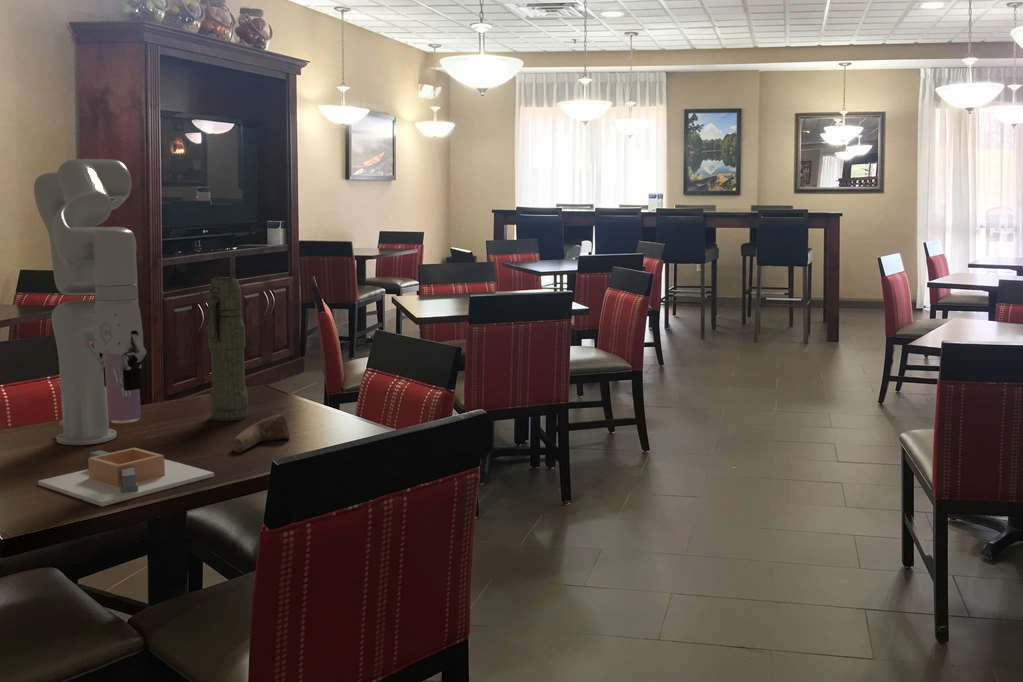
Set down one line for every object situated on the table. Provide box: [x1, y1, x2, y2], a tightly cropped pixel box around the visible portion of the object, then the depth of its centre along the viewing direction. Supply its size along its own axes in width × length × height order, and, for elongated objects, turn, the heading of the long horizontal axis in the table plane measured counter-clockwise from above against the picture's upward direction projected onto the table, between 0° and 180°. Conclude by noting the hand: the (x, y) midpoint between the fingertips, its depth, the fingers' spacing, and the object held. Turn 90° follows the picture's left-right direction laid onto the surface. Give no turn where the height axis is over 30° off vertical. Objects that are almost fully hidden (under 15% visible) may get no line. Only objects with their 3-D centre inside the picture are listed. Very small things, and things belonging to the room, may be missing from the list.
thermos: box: [207, 276, 249, 422], centre depth 247 cm, size 9×12×35 cm
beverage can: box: [104, 350, 142, 424], centre depth 191 cm, size 6×6×15 cm
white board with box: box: [37, 447, 215, 507], centre depth 194 cm, size 22×24×5 cm
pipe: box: [230, 412, 291, 453], centre depth 223 cm, size 6×17×10 cm
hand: (122, 386), depth 191 cm, fingers closed on beverage can, 6 cm apart
